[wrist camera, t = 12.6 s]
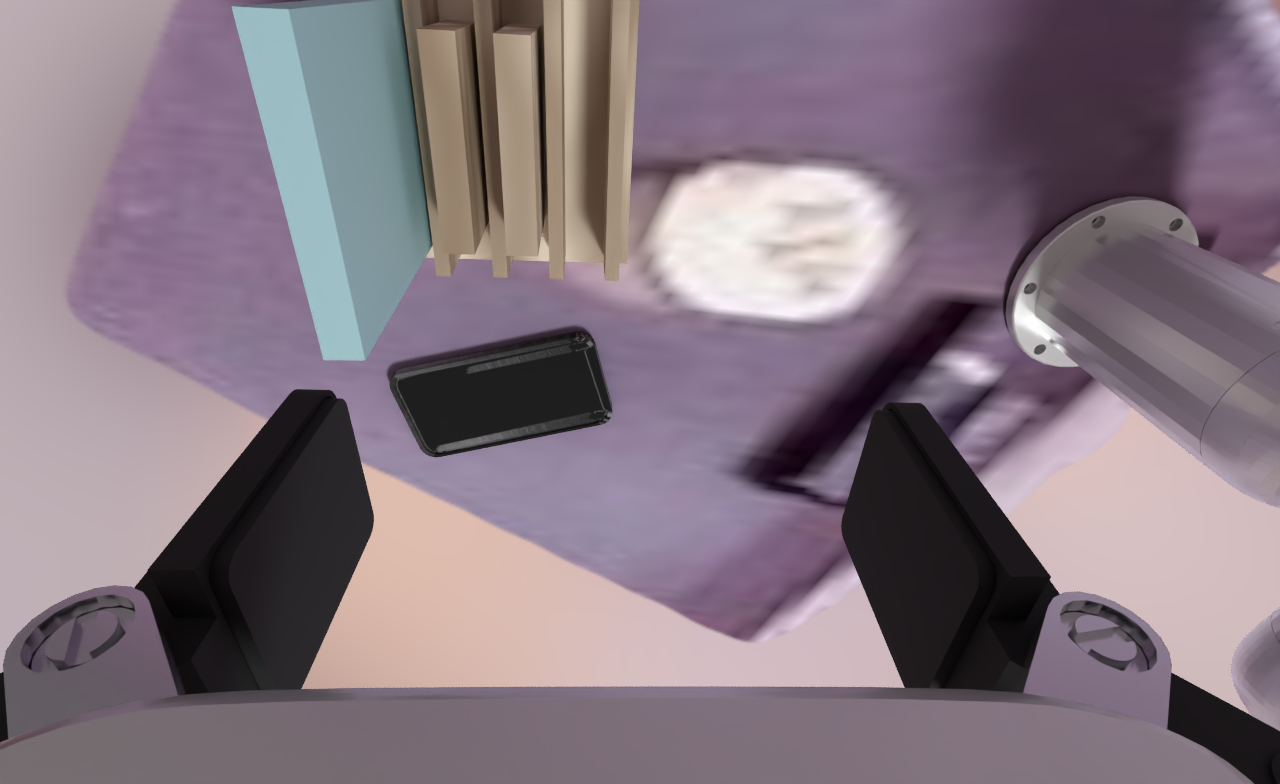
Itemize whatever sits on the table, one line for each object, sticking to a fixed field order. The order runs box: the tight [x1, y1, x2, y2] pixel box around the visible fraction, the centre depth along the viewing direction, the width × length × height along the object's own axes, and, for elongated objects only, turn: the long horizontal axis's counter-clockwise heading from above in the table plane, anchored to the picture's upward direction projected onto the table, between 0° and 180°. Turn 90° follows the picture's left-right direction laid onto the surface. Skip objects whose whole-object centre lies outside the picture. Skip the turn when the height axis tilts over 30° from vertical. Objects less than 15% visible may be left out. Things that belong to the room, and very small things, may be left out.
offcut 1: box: [416, 20, 489, 255], centre depth 32 cm, size 2×10×7 cm, turn 177°
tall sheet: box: [232, 0, 433, 360], centre depth 28 cm, size 2×12×16 cm, turn 177°
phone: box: [390, 332, 612, 457], centre depth 47 cm, size 8×1×15 cm
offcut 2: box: [493, 24, 546, 256], centre depth 33 cm, size 2×10×7 cm, turn 177°
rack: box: [402, 0, 639, 281], centre depth 34 cm, size 15×16×5 cm
